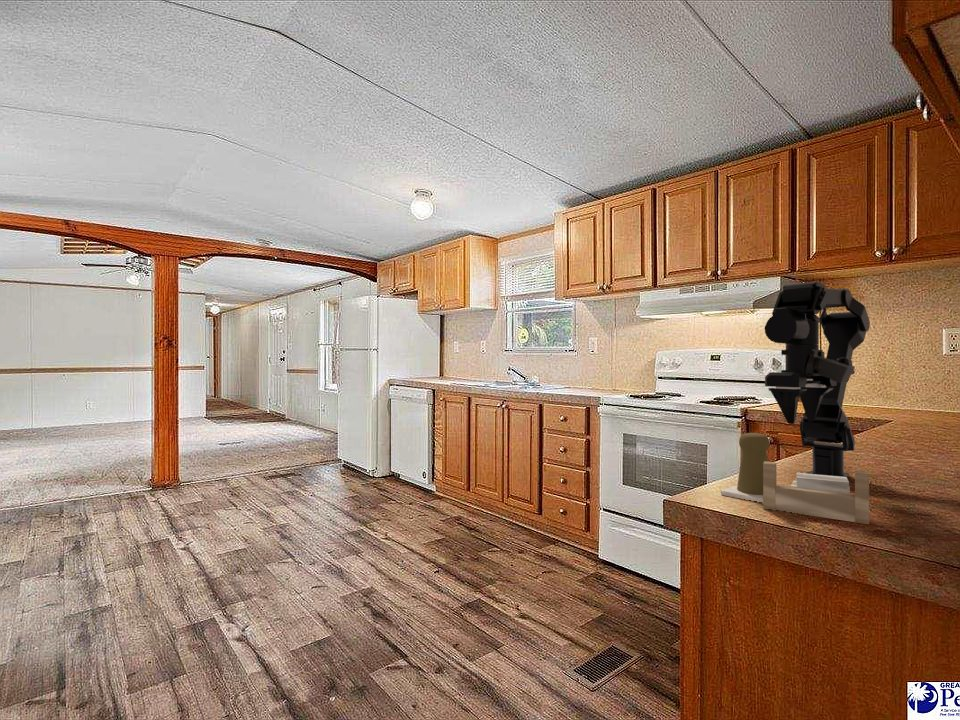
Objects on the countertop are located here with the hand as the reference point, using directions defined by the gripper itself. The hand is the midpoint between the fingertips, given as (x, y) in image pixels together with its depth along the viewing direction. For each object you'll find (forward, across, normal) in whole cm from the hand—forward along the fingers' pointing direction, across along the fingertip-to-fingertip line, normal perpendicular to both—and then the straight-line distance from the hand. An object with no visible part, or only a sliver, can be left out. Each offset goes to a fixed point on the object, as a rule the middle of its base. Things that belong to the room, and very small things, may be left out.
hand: (801, 422), depth 105 cm
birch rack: (+14, -18, -9) cm, 24 cm away
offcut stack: (+13, -5, -5) cm, 15 cm away
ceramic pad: (+13, -13, +3) cm, 19 cm away
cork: (+13, -13, +3) cm, 18 cm away
